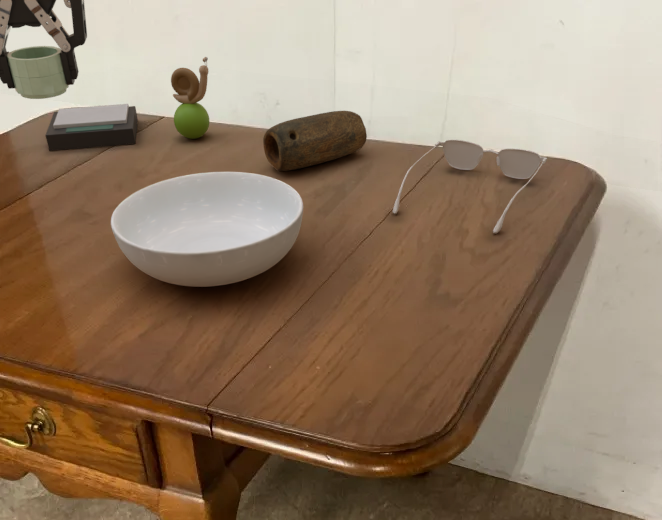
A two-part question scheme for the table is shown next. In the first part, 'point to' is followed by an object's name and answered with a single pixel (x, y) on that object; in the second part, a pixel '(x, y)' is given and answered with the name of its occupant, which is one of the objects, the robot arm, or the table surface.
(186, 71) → the snail figurine
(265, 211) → the serving bowl
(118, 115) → the scale
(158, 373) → the table surface
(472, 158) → the eyeglasses
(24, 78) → the dip bowl
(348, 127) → the hollow wooden cylinder
